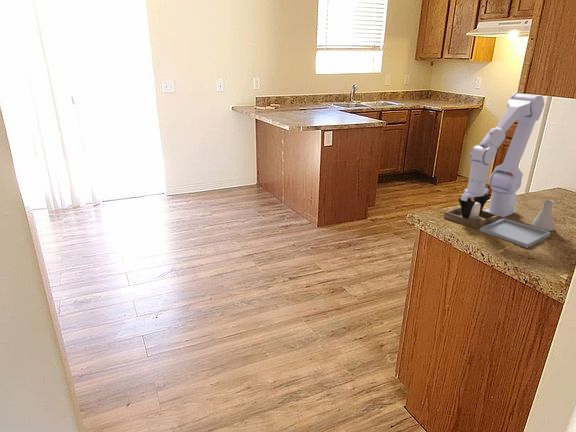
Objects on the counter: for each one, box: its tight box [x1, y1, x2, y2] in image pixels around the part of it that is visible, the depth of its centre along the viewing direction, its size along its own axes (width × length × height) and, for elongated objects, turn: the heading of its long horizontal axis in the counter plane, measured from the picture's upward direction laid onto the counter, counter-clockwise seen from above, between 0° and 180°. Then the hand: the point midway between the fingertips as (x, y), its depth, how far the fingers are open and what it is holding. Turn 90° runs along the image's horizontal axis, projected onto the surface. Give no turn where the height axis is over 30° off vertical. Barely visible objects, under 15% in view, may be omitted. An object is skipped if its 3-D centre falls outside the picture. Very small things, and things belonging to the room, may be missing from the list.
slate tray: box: [478, 217, 552, 249], centre depth 140 cm, size 16×16×2 cm
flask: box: [531, 199, 555, 232], centre depth 144 cm, size 7×7×10 cm
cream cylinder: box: [468, 202, 481, 221], centre depth 151 cm, size 5×5×6 cm
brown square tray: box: [443, 206, 500, 230], centre depth 152 cm, size 14×14×2 cm
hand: (471, 215), depth 152 cm, fingers open, 7 cm apart
